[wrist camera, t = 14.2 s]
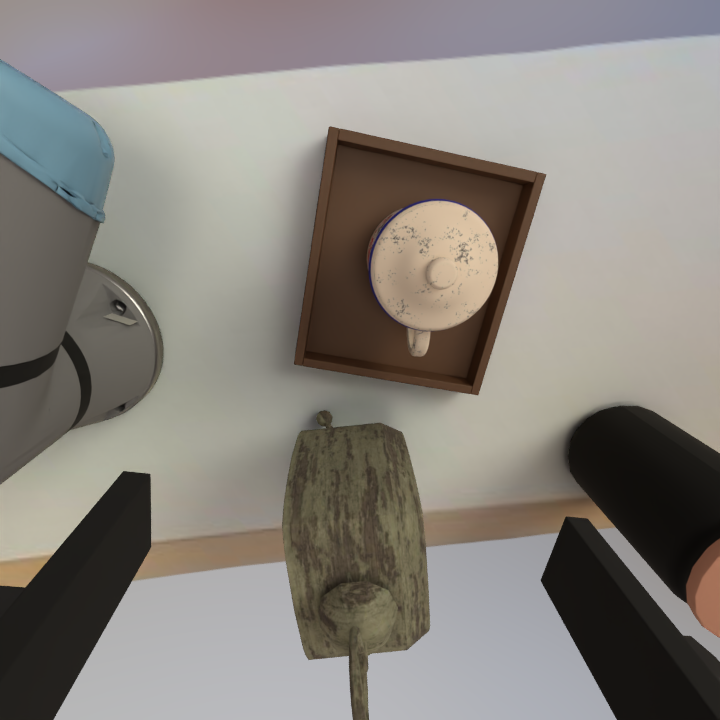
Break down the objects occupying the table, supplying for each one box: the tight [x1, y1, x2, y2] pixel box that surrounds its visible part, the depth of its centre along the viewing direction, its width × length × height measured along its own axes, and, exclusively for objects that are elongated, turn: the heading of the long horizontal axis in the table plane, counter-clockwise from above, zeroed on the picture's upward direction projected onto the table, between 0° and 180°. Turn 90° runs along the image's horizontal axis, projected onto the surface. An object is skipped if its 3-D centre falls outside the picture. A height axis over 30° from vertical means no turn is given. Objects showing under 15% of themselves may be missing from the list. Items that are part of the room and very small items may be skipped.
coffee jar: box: [568, 406, 720, 637], centre depth 36 cm, size 11×11×18 cm
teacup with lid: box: [367, 199, 498, 357], centre depth 32 cm, size 12×9×12 cm
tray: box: [294, 127, 546, 395], centre depth 36 cm, size 18×20×3 cm
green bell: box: [282, 410, 430, 720], centre depth 32 cm, size 14×9×25 cm, turn 6°
